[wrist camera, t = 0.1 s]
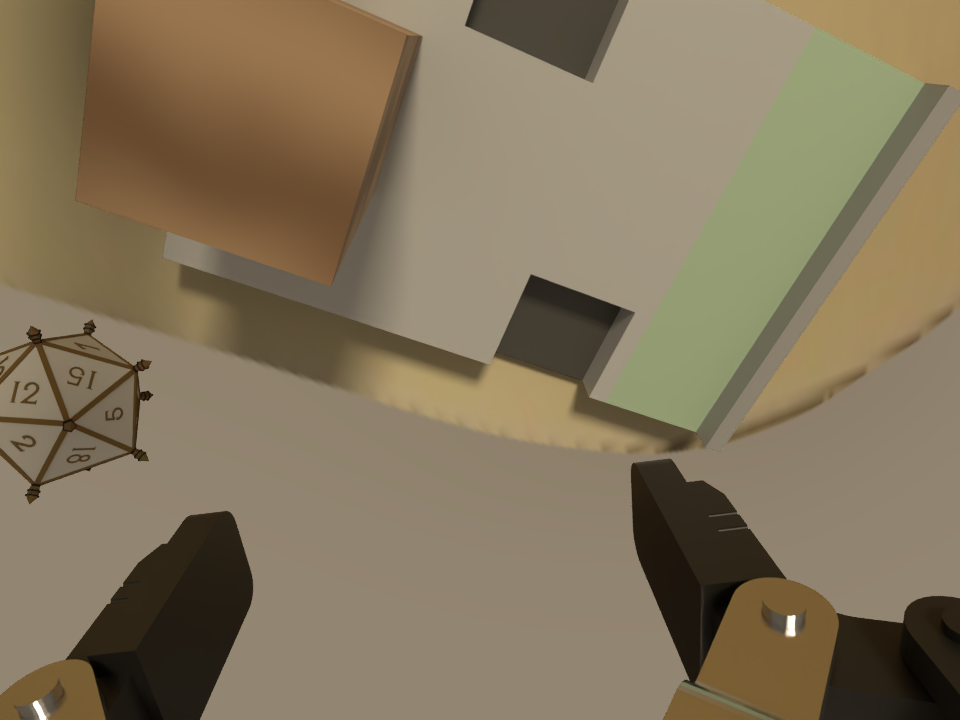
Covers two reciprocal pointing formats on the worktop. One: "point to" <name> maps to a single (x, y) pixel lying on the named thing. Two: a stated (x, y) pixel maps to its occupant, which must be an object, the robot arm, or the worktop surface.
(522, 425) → the worktop surface
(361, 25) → the walnut block
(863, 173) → the board
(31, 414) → the game die
